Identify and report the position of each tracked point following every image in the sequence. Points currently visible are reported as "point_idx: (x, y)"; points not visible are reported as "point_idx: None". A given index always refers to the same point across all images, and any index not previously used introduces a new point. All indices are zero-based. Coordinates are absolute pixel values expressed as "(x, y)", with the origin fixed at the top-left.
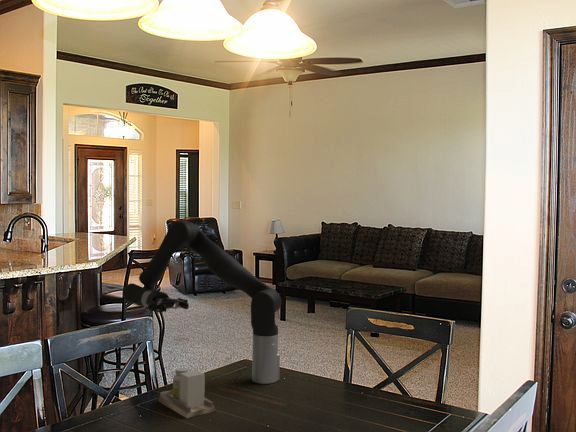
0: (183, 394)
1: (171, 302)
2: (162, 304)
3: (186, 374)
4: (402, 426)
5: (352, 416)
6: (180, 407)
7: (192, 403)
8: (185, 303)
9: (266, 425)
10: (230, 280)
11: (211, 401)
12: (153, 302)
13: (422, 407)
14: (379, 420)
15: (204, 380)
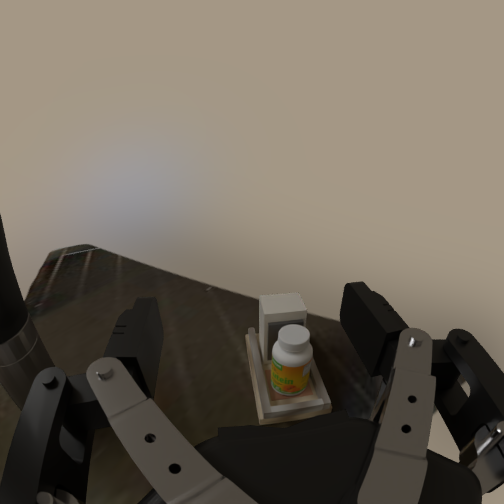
0: None
1: (232, 431)
2: (376, 308)
3: (296, 302)
4: (112, 253)
5: (116, 275)
6: None
7: None
8: (152, 306)
9: (210, 289)
10: None
11: (249, 331)
12: (474, 474)
13: (57, 266)
14: (110, 263)
15: (259, 307)
